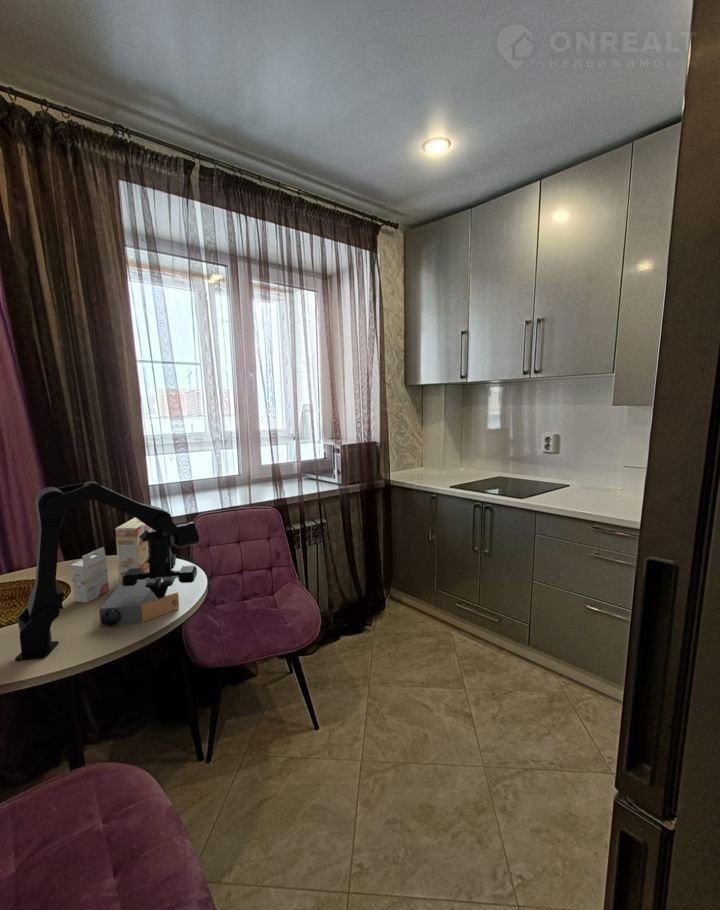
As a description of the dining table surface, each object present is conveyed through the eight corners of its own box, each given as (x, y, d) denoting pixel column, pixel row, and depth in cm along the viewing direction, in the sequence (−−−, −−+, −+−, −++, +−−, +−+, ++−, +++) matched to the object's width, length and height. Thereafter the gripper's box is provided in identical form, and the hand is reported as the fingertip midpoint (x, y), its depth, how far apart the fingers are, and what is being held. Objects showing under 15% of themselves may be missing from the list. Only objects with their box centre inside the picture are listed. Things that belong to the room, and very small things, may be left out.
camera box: (138, 625, 113) (137, 607, 112) (98, 628, 111) (97, 610, 110) (161, 589, 133) (160, 574, 133) (128, 591, 132) (126, 576, 131)
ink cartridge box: (96, 588, 134) (92, 545, 132) (109, 590, 133) (106, 546, 131) (73, 601, 125) (68, 555, 123) (87, 603, 124) (82, 556, 122)
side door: (144, 623, 114) (142, 606, 113) (141, 620, 115) (140, 604, 114) (180, 609, 121) (179, 593, 120) (177, 607, 122) (176, 592, 121)
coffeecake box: (140, 585, 136) (136, 528, 133) (118, 585, 136) (113, 528, 133) (161, 567, 151) (157, 515, 148) (141, 567, 151) (137, 514, 148)
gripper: (199, 540, 128) (201, 588, 130) (133, 542, 124) (136, 591, 126) (192, 554, 117) (194, 606, 119) (119, 557, 113) (123, 611, 116)
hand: (162, 603), depth 120 cm, fingers closed
